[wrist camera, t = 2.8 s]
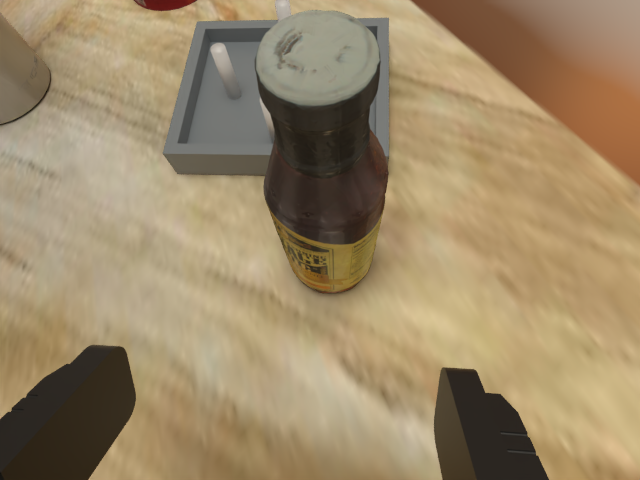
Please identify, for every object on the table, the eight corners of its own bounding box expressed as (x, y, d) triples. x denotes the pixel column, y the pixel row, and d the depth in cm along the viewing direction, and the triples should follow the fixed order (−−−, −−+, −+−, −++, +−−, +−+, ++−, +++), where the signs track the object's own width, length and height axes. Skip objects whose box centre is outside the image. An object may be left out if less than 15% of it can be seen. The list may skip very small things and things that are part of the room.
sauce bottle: (277, 248, 32) (175, 26, 13) (343, 208, 32) (333, -50, 14) (320, 318, 29) (269, 163, 11) (391, 273, 30) (452, 61, 12)
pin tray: (177, 173, 35) (141, 125, 29) (207, 47, 41) (182, -15, 35) (385, 177, 33) (393, 126, 27) (386, 45, 39) (392, -21, 33)
